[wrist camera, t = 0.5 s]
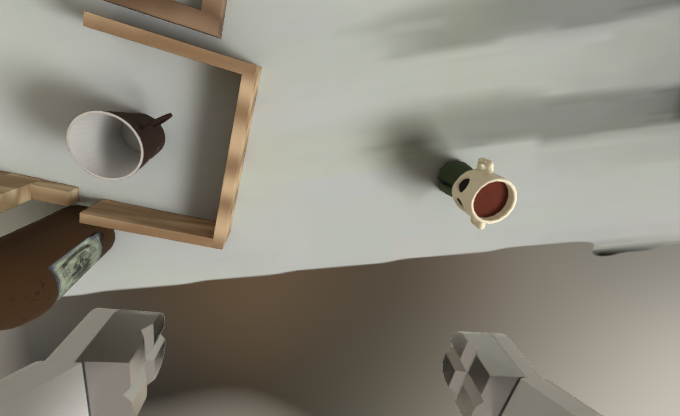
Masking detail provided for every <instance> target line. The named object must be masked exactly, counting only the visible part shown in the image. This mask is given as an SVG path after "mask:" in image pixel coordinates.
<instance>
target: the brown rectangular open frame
mask: <svg viewBox="0 0 680 416" xmlns="http://www.w3.org/2000/svg"><path fill="white" fill-rule="evenodd" d="M104 1H107V2H110V3H113V4H116V5H119V6H122V7H125V8H128V9H131V10H134V11H137V12H141V13H144V14H147V15H150V16H153V17H156V18H159V19H162V20H165V21H168V22H171V23H174V24H177V25H180V26H184V27H187V28H190V29H193V30H196V31H199V32H202V33H205V34H208V35H211V36H214V37H217V38H220V39H221V36H222V29H223V22H224V16H225V9H226V2H227V0H202V6H201V10H198V9H195V8H192V7H189V6H186V5H183V4H180V3H178V2H175V1H172V0H104Z"/></svg>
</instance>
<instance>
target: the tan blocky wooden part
mask: <svg viewBox="0 0 680 416" xmlns="http://www.w3.org/2000/svg"><path fill="white" fill-rule="evenodd" d="M31 199H33V200H38V201H43V202H48V203H53V204H58V205H64V206H70V205H72V204H74V203H76V202H78V201H79V187H75V186H70V185H65V184H60V183H56V182H51V181H46V180H43V179H39V178H35V177H30V176H25V175H20V174H16V173H8V172H3V171H0V213H1V212H3V211H5V210H8V209H10V208H12V207H15V206H17V205H19V204H22V203H24V202H26V201H29V200H31Z"/></svg>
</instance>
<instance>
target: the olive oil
mask: <svg viewBox="0 0 680 416" xmlns="http://www.w3.org/2000/svg"><path fill="white" fill-rule="evenodd" d="M87 208H88V207H84V206H70V207H66V208H64V209H61V210H59V211H57V212H55V213H53V214H51V215H49V216H47V217H44V218H42V219H40V220H38V221H36V222H34V223H31V224H29V225H27V226H25V227H23V228H20V229H18V230H16V231H14V232H12V233H9V234H7V235H5V236H2V237H0V330H6V329H11V328H15V327H18V326H21V325H23V324H25V323H28V322H30V321H32V320H33V319H35V318H37V317H39V316H40V315H42V314H44V313H45V312H46V311H47V310H49V309H50V308H51V307H52V306H53V305H54V304H55V303H56V302H57V301H58V300H59V299H60V298H61V297H62V296H63V295H64V294H65V293H66V292H67V291H68V290H69V289H70V288H71V287H72V286H73V285H74V284H75V283H76V282H77V281H78V280H79V279H80V278H81V277H82V276H83V275H84V274H85V273H86V272H87V271H88V270H89V269H90V268H91V267H92V266H93V265H94V264H95V263H96V262H97V261H98V260H99V259H100V258H101V257H102V256H103V255H104V254H105V253H106V252H107V251H108V250H109V249H110V248H111V247H112V245H113V243H114V240H115V233H114V229H110V228H105V227H100V226H94V225H89V224H84V223H80V212H82V211H84V210H85V209H87Z"/></svg>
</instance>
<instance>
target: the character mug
mask: <svg viewBox="0 0 680 416" xmlns="http://www.w3.org/2000/svg"><path fill="white" fill-rule="evenodd" d="M484 165H485V166H486V169H484ZM493 167H494V163H493V162H492V161H490V160H487V159H485V158H480V159H478V164H477V169H472V168H471V167H470V166H469V165H467V164H466V163H464V162H459V161H455V162H451V163H448V164H447V165H446V166H444V167H443V168H442V170H441V171H440V173H439V175H438V177H439V178H441V179H442V183H440V182H438V185H439V187H440V189H441V190H442V191H443V192H444V193H446V194H448V195H450V196H452V197H453V199H454V201H455V203H456V204H457V206H458V207H459V208H460V209H461V210H463V211H464V212H466V213H467V214H468V215H470V216H471V223H472V224H473V225H475V226H476V227H477V228H479V229H484V227H485V223H488V224H492V223H495V222H499V221H501V220H502V219H504V218H505V217H507V216H508V215H509V213H510V212H511V211H512V210H513V209H514V206H515V203H516V201H517V191H516V189H515V187H514V185H513V184H512V183H511V182H509V181H508V180H507V179H505V178H503V177H501V176H499V175H497V174H494V173H493Z"/></svg>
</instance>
